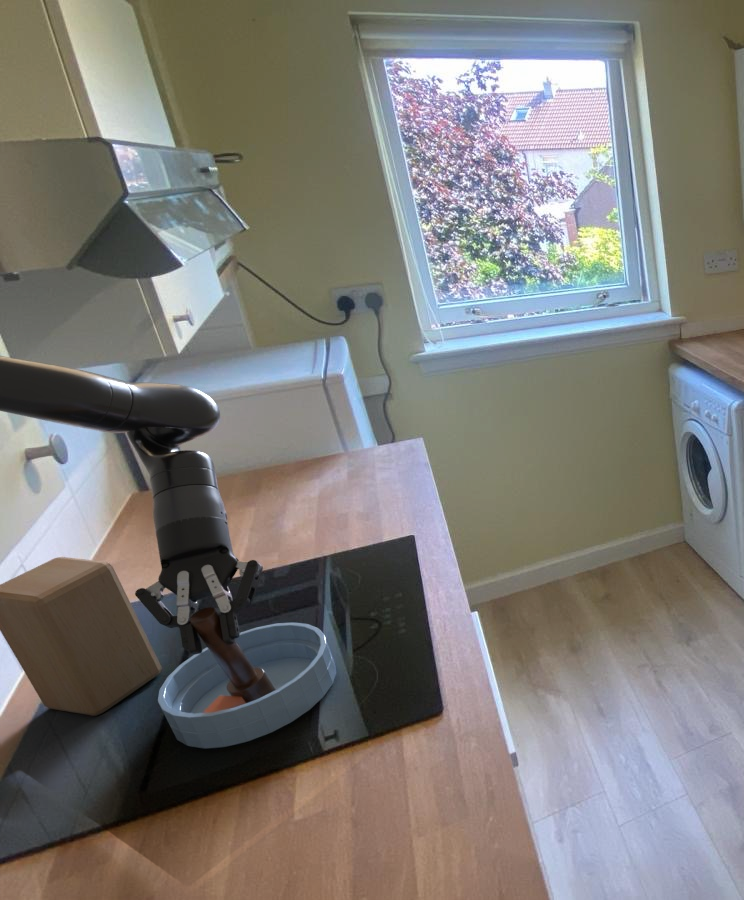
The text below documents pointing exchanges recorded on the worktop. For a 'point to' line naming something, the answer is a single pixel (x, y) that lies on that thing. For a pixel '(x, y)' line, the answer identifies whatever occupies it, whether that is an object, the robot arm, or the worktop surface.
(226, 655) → the pestle
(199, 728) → the bowl
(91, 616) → the wooden block
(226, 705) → the block
